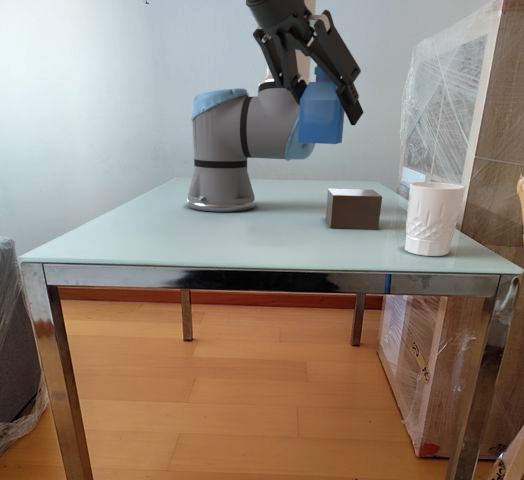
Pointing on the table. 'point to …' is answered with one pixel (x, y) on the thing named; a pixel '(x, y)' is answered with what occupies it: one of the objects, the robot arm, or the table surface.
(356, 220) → the walnut block
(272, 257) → the table surface
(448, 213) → the white cup
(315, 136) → the perfume bottle
